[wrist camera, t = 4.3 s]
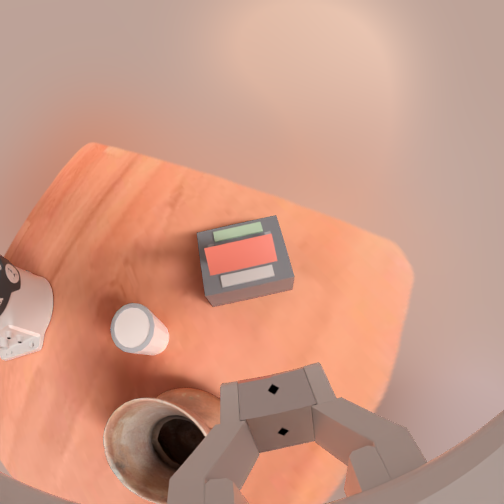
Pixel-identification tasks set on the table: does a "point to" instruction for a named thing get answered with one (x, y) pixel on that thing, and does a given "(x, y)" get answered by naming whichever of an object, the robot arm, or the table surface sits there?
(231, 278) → the switch box
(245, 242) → the lever
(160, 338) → the shot glass
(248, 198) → the table surface
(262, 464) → the table surface
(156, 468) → the ceramic jug
